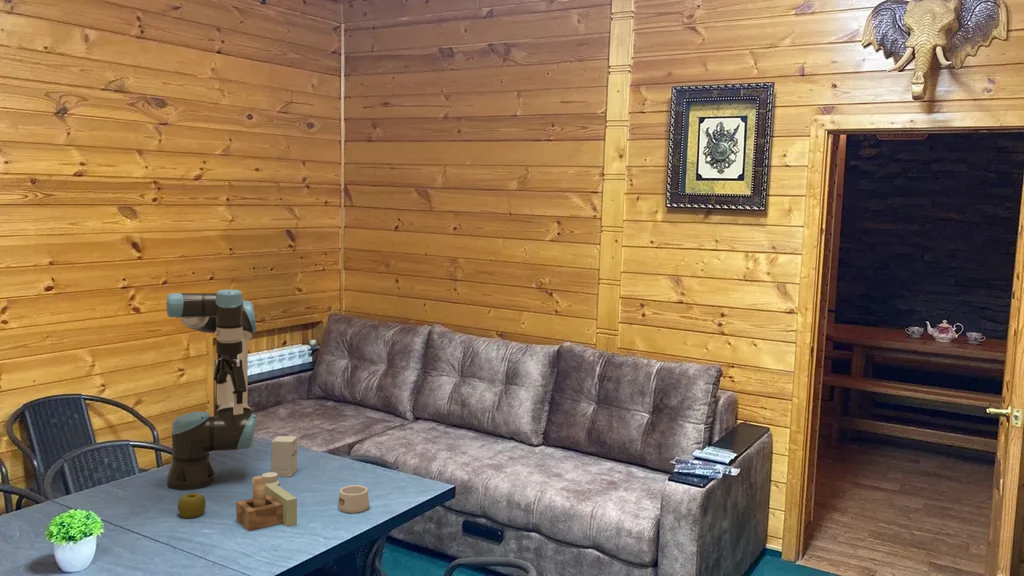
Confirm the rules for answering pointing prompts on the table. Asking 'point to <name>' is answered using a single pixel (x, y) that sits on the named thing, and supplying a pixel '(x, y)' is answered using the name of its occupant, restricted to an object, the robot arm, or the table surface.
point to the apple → (191, 505)
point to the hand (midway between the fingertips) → (229, 409)
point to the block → (259, 513)
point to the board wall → (284, 503)
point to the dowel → (259, 491)
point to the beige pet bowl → (353, 499)
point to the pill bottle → (271, 478)
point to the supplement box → (284, 455)
